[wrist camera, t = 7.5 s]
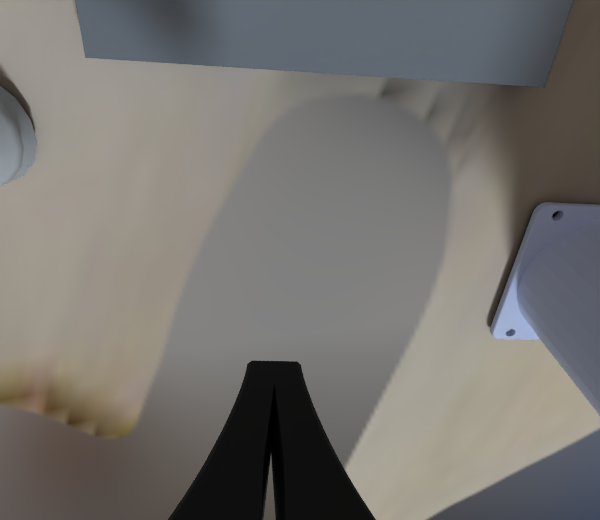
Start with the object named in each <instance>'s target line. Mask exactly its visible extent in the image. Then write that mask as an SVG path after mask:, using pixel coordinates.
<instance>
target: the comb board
mask: <svg viewBox="0 0 600 520" xmlns="http://www.w3.org/2000/svg"><path fill="white" fill-rule="evenodd" d="M572 3H573V0H76V5H77V11H78V17H79V23H80V29H81V34H82V40H83V46H84V52H85V58H100V59H115V60H131V61H146V62H161V63H177V64H192V65H207V66H222V67H238V68H253V69H268V70H284V71H299V72H314V73H330V74H345V75H360V76H376V77H391V78H406V79H422V80H437V81H452V82H467V83H483V84H498V85H513V86H529V87H545V84H546V81H547V78H548V75H549V72H550V69H551V66H552V63H553V60H554V57H555V54H556V51H557V48H558V45H559V42H560V39H561V36H562V33H563V30H564V27H565V24H566V21H567V18H568V15H569V12H570V9H571V6H572Z"/></svg>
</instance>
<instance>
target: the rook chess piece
mask: <svg viewBox="0 0 600 520" xmlns="http://www.w3.org/2000/svg"><path fill="white" fill-rule="evenodd" d="M36 145H37V140H36V137H35V133H34V130H33V126H32V123H31V120H30V118H29V117H28V115H27V114H26V112H25V111H24V109H23V108H22V107H21V105H20V104H19V102H18V101H17V99H16V98H15V97H14V96H12V95H11V94H10V93H9V92H7V91H6V90H5V89H4V88H2V87H1V86H0V186H1V185H3V184H6V183H8V182H10V181H12V180H14V179H16V178H19V177H21V176H23V175H24V174H25V173H26V171H27V170H28V169H29V167H30V166H31V165H32V164H33V162H34V159H35V152H36Z"/></svg>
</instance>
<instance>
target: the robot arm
mask: <svg viewBox="0 0 600 520" xmlns="http://www.w3.org/2000/svg"><path fill="white" fill-rule="evenodd" d="M556 211H559V213H558V214H557V215H556V216H555V217H552V215H553V214H554V213H555V212H556ZM509 329H511V330H510V331H508V330H509ZM507 331H508V332H507ZM490 332H491V334H492V336H493V337H494V338H496V339H518V340H541V341H542V342H543V344H544V345H545V346H546V348H547V349H548V350H549V351H550V353H551V354H552V355H553V356H554V358H555V359H556V360H557V362H558V363H559V364H560V365H561V367H562V368H563V369H564V371H565V372H566V373H567V374H568V376H569V377H570V378H571V379H572V381H573V382H574V383H575V385H576V386H577V387H578V388H579V390H580V391H581V392H582V394H583V395H584V396H585V397H586V399H587V400H588V401H589V402H590V404H591V405H592V406H593V408H594V409H595V410H596V411H597V413H598V414H599V415H600V205H595V204H574V203H552V202H546V203H542V204H540V205H538V206H537V207H536V208H535V210H534V211H533V214H532V216H531V219H530V222H529V225H528V227H527V230H526V233H525V235H524V238H523V241H522V243H521V246H520V249H519V252H518V254H517V257H516V260H515V262H514V265H513V268H512V271H511V273H510V276H509V279H508V281H507V284H506V287H505V289H504V292H503V295H502V298H501V300H500V303H499V306H498V308H497V311H496V314H495V316H494V319H493V322H492V325H491V327H490ZM271 455H272V471H273V484H274V485H273V486H274V501H275V514H276V520H376V519H375V518H374V516H373V515H372V513H371V512H370V510H369V509H368V507H367V506H366V504H365V503H364V501H363V500H362V498H361V497H360V495H359V493H358V492H357V490H356V488H355V487H354V485H353V483H352V482H351V480H350V478H349V477H348V475H347V473H346V472H345V470H344V468H343V466H342V464H341V463H340V461H339V459H338V457H337V455H336V454H335V451H334V449H333V447H332V445H331V444H330V442H329V439H328V437H327V435H326V433H325V431H324V429H323V426H322V424H321V422H320V420H319V418H318V416H317V413H316V411H315V408H314V406H313V403H312V401H311V398H310V395H309V393H308V390H307V387H306V384H305V381H304V378H303V373H302V369H301V365H300V364H299V363H298V362H288V361H251V362H249V363H248V364H247V369H246V374H245V377H244V380H243V383H242V386H241V389H240V391H239V394H238V397H237V399H236V402H235V404H234V406H233V408H232V411H231V413H230V415H229V417H228V419H227V421H226V424H225V426H224V428H223V430H222V432H221V434H220V436H219V437H218V439H217V441H216V443H215V445H214V447H213V449H212V451H211V452H210V454H209V456H208V458H207V460H206V461H205V463H204V465H203V467H202V468H201V470H200V472H199V473H198V475H197V477H196V478H195V480H194V481H193V483H192V485H191V486H190V488H189V489H188V491H187V493H186V494H185V496H184V497H183V499H182V500H181V501H180V503H179V504H178V506H177V507H176V509H175V510H174V512H173V513H172V515H171V516H170V517H169V519H168V520H263V518H264V509H265V500H266V492H267V483H268V474H269V465H270V456H271Z"/></svg>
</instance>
